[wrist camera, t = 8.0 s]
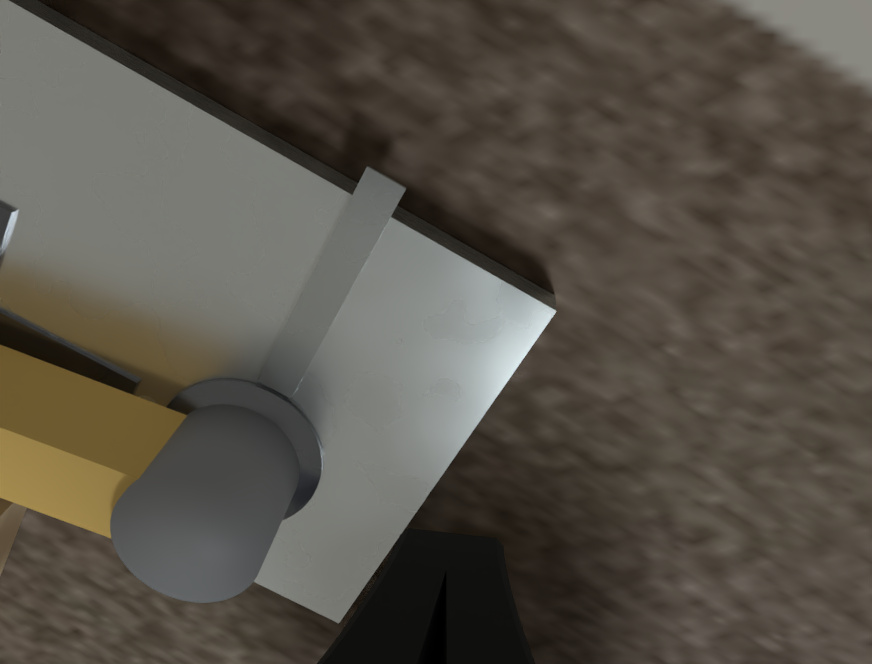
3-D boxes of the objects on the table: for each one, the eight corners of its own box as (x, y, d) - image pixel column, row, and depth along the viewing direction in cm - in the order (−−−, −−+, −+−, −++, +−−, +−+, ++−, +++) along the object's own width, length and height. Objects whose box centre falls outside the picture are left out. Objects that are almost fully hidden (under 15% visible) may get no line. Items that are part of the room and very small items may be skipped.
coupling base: (345, 599, 24) (337, 628, 23) (-145, 356, 22) (-179, 375, 21) (573, 269, 19) (576, 287, 18) (-44, -86, 17) (-82, -90, 16)
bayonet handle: (316, 435, 20) (281, 512, 17) (278, 535, 22) (240, 622, 19) (-109, 272, 19) (-220, 324, 16) (-117, 388, 21) (-220, 454, 18)
